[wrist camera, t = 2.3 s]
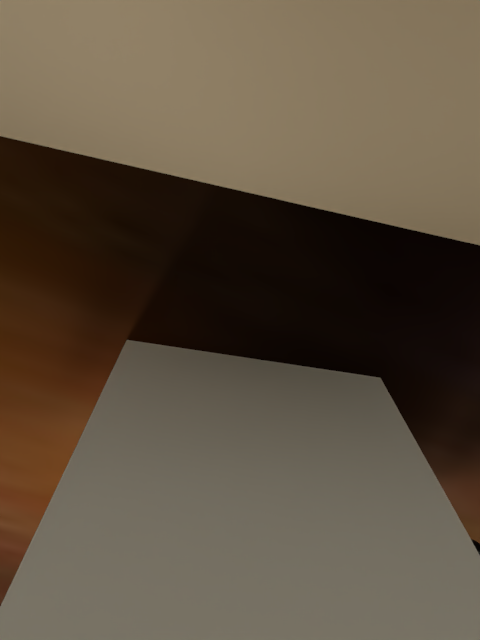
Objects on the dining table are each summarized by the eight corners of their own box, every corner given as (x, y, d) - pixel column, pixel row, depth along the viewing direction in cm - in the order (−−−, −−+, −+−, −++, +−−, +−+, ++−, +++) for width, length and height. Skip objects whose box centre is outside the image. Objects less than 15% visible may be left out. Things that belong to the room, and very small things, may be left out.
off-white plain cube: (316, 544, 12) (389, 921, 6) (113, 521, 11) (-1, 909, 6) (379, 375, 9) (582, 738, 4) (127, 338, 9) (-40, 691, 3)
